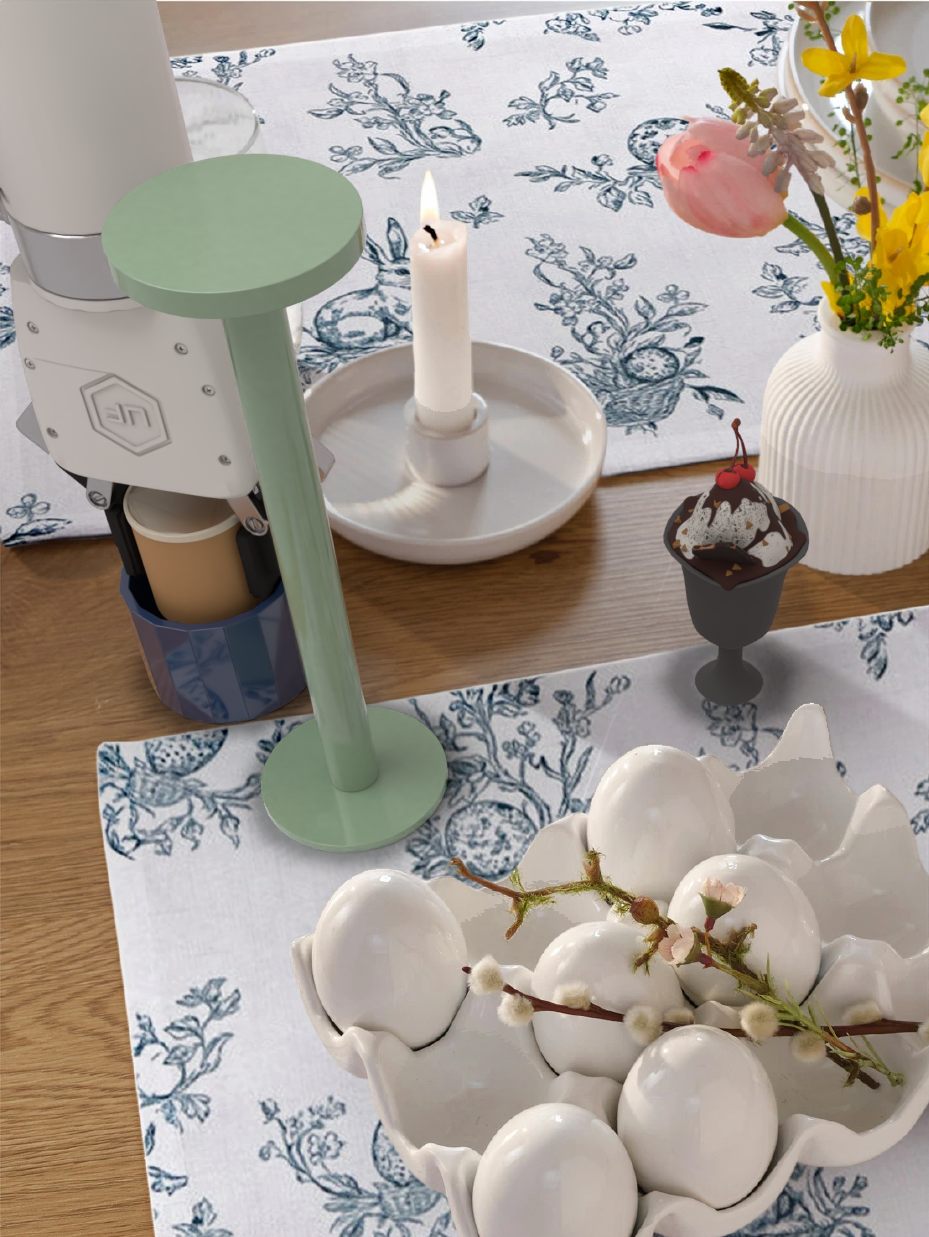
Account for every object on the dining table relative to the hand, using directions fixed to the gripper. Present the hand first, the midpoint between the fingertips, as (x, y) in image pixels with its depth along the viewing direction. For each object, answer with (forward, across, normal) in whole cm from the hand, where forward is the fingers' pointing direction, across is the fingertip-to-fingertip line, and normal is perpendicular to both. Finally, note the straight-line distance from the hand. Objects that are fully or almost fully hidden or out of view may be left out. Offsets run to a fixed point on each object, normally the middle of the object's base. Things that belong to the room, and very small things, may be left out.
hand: (208, 566), depth 79 cm
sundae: (+7, +25, +5) cm, 27 cm away
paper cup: (+7, 0, 0) cm, 7 cm away
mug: (+7, 0, +2) cm, 7 cm away
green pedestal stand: (+7, +9, -6) cm, 13 cm away
